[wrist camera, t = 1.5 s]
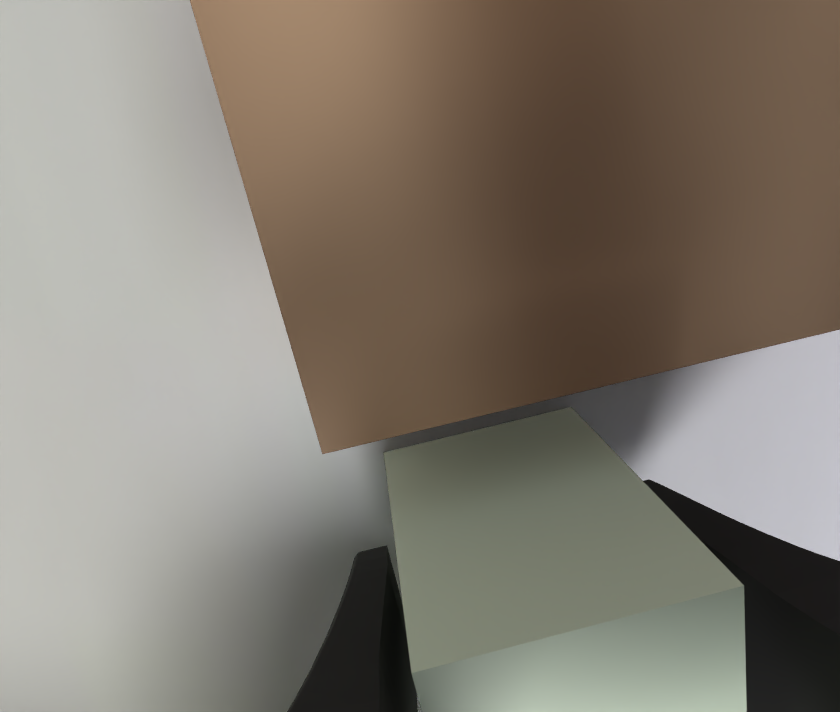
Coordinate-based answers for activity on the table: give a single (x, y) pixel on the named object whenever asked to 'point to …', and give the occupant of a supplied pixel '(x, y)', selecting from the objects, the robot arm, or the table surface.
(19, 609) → the table surface
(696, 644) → the sage block
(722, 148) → the walnut slab
